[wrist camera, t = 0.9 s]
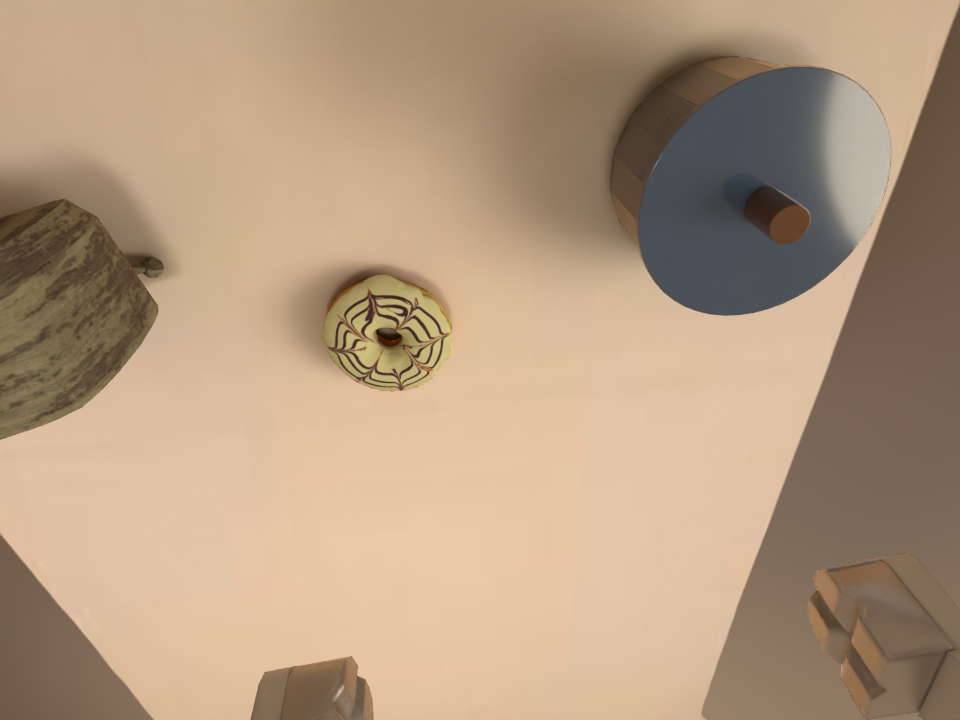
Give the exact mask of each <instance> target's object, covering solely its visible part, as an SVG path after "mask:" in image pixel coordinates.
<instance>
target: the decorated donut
mask: <svg viewBox="0 0 960 720" xmlns="http://www.w3.org/2000/svg"><path fill="white" fill-rule="evenodd" d="M390 327H391V328H393V329H394V330H395V331H396V332H397V333H399V334H401V335H402V337H401V338H399V339H397V340H394V341H391V340H390V341H389V340H386V339H384V338H382V337H380V336H378V334H377V333H376V330H377V329H378V328H390ZM323 340H324V343H325V345H326V347H327V350H328V353H329V355H330V357H331V358H332V359H333V361H334V362H335V363H336V364H337V366H338V367H339V368H340V369H341V370H342V371H343V372H344V373H345V374H346V375H348V376H349V377H350V378H352V379H353V380H354V381H356V382H358V383H360V384H363V385H365V386H367V387H370V388H373V389H377V390H380V391H390V392H393V391H401V390H408V389H411V388H415V387H418V386H420V385H422V384H424V383H425V382H427V381H428V380H430V379H431V378H432V377H433V376H434V375H435V374H436V373H437V372H438V371H439V369H440V368H441V366H442V365H443V364H444V362H445V361H446V360H447V359H448V357H449V355H450V352H451V349H452V324H451V321H450V319H449V317H448V316H447V314H446V313H445V311H444V310H443V308H442V306H441V304H440V303H439V301H438V300H437V299H436V298H435V297H434V296H433V295H432V294H430V293H429V292H428V291H426V290H425V289H423V288H421V287H419V286H417V285H415V284H412V283H409V282H405V281H401V280H397V279H395V278H394V277H392V276H389V275H385V274H379V275H375V276H372V277H370V278H368V279H366V280H363V281H361V282H359V283H356V284H354V285H353V286H350V287H349V288H347V289H346V290H344V291H343V292H342V293H340V294H339V295H338V296H337V297H336V298H335V300H334V302H333V304H332V305H331V308H330V310H329V313H328V314H327V316H326V319H325V322H324V330H323Z"/></svg>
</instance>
